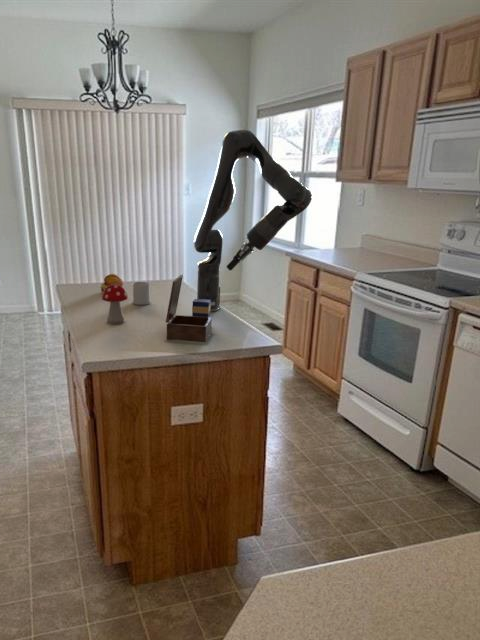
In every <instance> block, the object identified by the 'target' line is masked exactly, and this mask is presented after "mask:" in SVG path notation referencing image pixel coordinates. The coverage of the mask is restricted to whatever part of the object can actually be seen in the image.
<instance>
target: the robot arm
mask: <svg viewBox="0 0 480 640" xmlns="http://www.w3.org/2000/svg"><path fill="white" fill-rule="evenodd" d="M245 158H248V159H249V160H251V161H253V162H254V163H255V164H256V165H257V166H258V168H259V173H260V176H261V178H262V179H263V180H264V182H265V183H266V184H267V185H269V186H270V187H271V188H272V189H273V190H274V191H275V192H277V193H278V195H279V196H280V197H281V198H282V199H283V200H284V201H285V202H284V203H282V204H275V205H273V207H272V208H271V209H270V210H269V211H268V212H267V213H266V214H265V215H264V216H263V217H262V218H261V219H259V220H258V221H257V222H256V224H255V225H254V226H253V227H251V229H250V230H249V231H248V232H247V233H246V235H245V237H246V239H247V240H248V242H244V243H243V244H242V245H241V247H240V249H239V250H238V251H236V253H235V255H234V256H233V258H232V260H231V261H230V262H229V263H228V264H227V265H226V268H227V270H229V271H232V270H234V269H235V267H236V266H237V265H239V264H240V263H241V262H242V261H244V260H245V259H247V258H248V257H249V255H251V254H252V253H254V252H255V251H254V248H255V249H257V250H259V251H262V250H264V248H265V247H266V246H268V244H269V243H270V242H271V240H273V239H274V238H275V237H276V235H278V233H279V232H280V231H281V230H282V229H283V227H284V226H286V224H287V223H288V222H289V221H290V220H292V219H295V218H296V217H297V216H298V215H300V214H301V213H303V212H304V211H305V210H306V209H307V208H309V205H310V204H311V203H312V199H313V195H312V192H311V190H310V189H308V188H307V187H306V186H304V185H303V184H302V183H301V182H300V181H298V180H297V179H296V178H294V177H293V176H292V175H291V173H290V172H289V171H288V170H287V169H286V168H285V167H283V166H282V165H281V164H279V162H277V161H276V160H275V158H274V157H273V156H272V155H271V154H270V153H269V151H268V150H267V148H266V147H264V145H263V143H262V142H261V141H260V139H259V138H258V137H257V136H256V135H255V134H254V133H253V131H251V130H249V129H238V130H231V131H228V132H227V133H226V134H225V135H224V137H223V138H222V143H221V147H220V151H219V157H218V161H217V167H216V170H215V174H214V179H213V181H212V182H213V183H212V184H211V188H210V190H209V194H208V197H207V202H206V205H205V208H204V211H203V215H202V217H201V220H200V221H199V225H198V227H197V230H196V232H195V234H194V240H193V246H194V250H195V251H196V252H197V253H199V254H208V255H207V256H206V257H205V258H204V259H202V260H199V261H198V262H197V283H196V284H197V288H196V291H197V292H196V294H197V295H196V299H205V300H210V312H216V311H218V310H219V309H220V307H221V305H220V303H221V286H220V273H221V272H220V267H221V264H222V252H223V234H222V232H221V231H220V230H219V229H213V227H215V225H216V224H217V223H218V222H219V221H221V219H222V218H223V217H224V216H225V215H226V214H227V213H228V212H229V210H230V208H231V207H232V203H233V201H234V197H235V194H236V187H235V182H234V178H233V171H234V168H235V165H236V162H237V161H238V160H241V159H245Z"/></svg>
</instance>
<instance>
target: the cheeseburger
mask: <svg viewBox="0 0 480 640" xmlns="http://www.w3.org/2000/svg"><path fill="white" fill-rule="evenodd" d="M112 284H117V285H120V286H122V287H124V281H123V280H122V279H121V278H120V277H119V276H118V275H117V274H115V273H109V274H107V275H106V276H105V277H104V278H103V283H101V284H100V286H99V287H100V291H101V293H103V292H104V290H105V289H106V287H108V286H109V285H112Z"/></svg>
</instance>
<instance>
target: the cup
mask: <svg viewBox="0 0 480 640" xmlns="http://www.w3.org/2000/svg"><path fill="white" fill-rule="evenodd" d="M132 301H133V304H134V305H136V306H145V305H149V304H150V283H149V282H147V281H135V282H133V283H132Z"/></svg>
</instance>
